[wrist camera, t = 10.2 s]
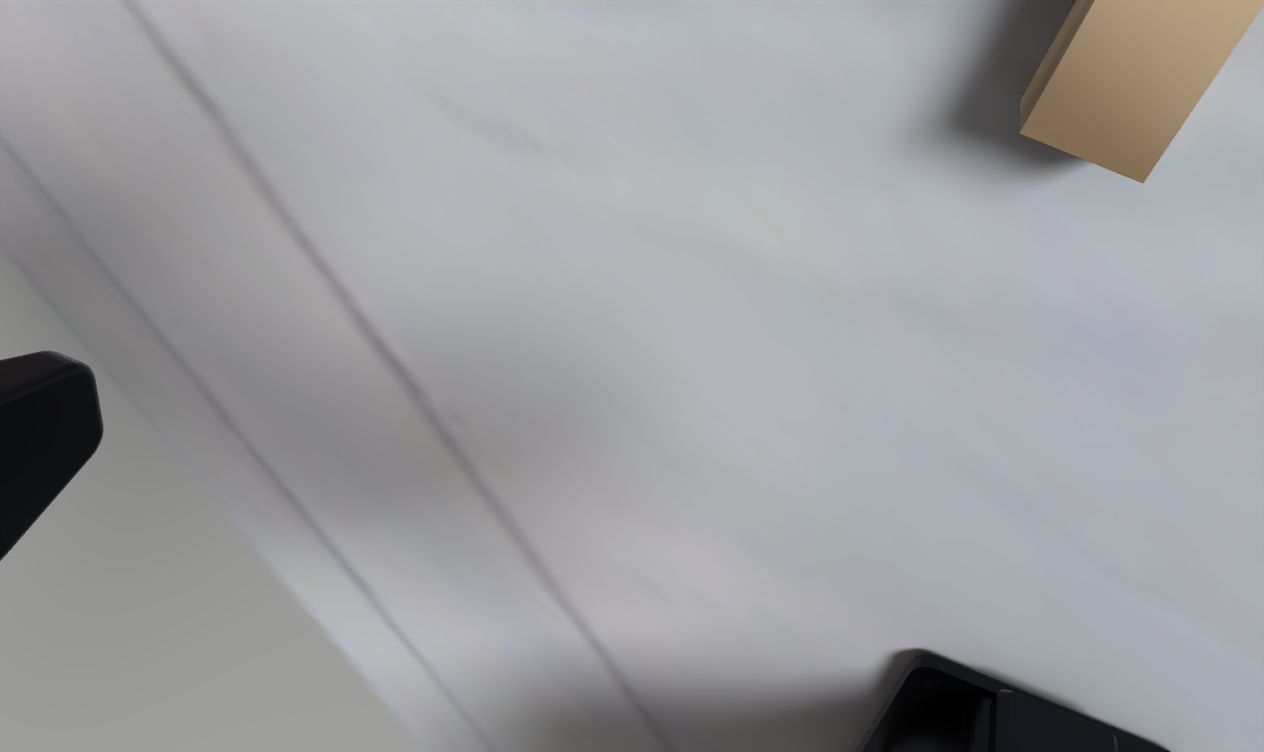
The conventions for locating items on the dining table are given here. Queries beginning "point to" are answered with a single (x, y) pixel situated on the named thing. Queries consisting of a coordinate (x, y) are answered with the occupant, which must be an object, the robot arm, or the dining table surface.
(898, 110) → the dining table surface
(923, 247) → the dining table surface
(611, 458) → the dining table surface
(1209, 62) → the tan bar
